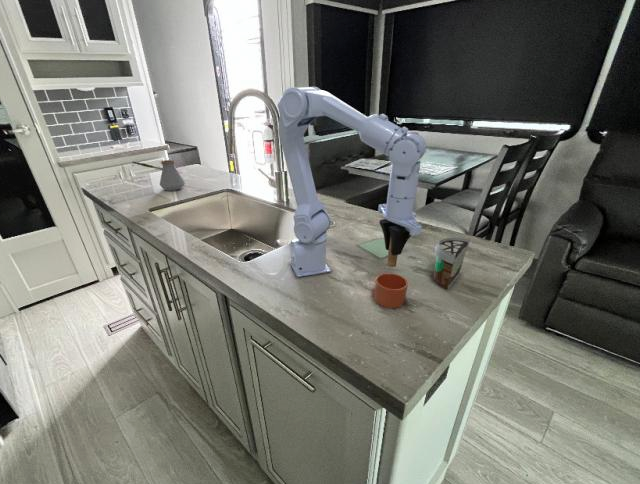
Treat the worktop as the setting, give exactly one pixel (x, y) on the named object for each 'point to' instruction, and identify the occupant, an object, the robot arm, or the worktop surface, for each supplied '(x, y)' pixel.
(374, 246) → the napkin
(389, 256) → the stirrer
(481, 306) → the worktop surface
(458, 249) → the food container
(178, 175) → the coffee pot
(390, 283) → the cup
